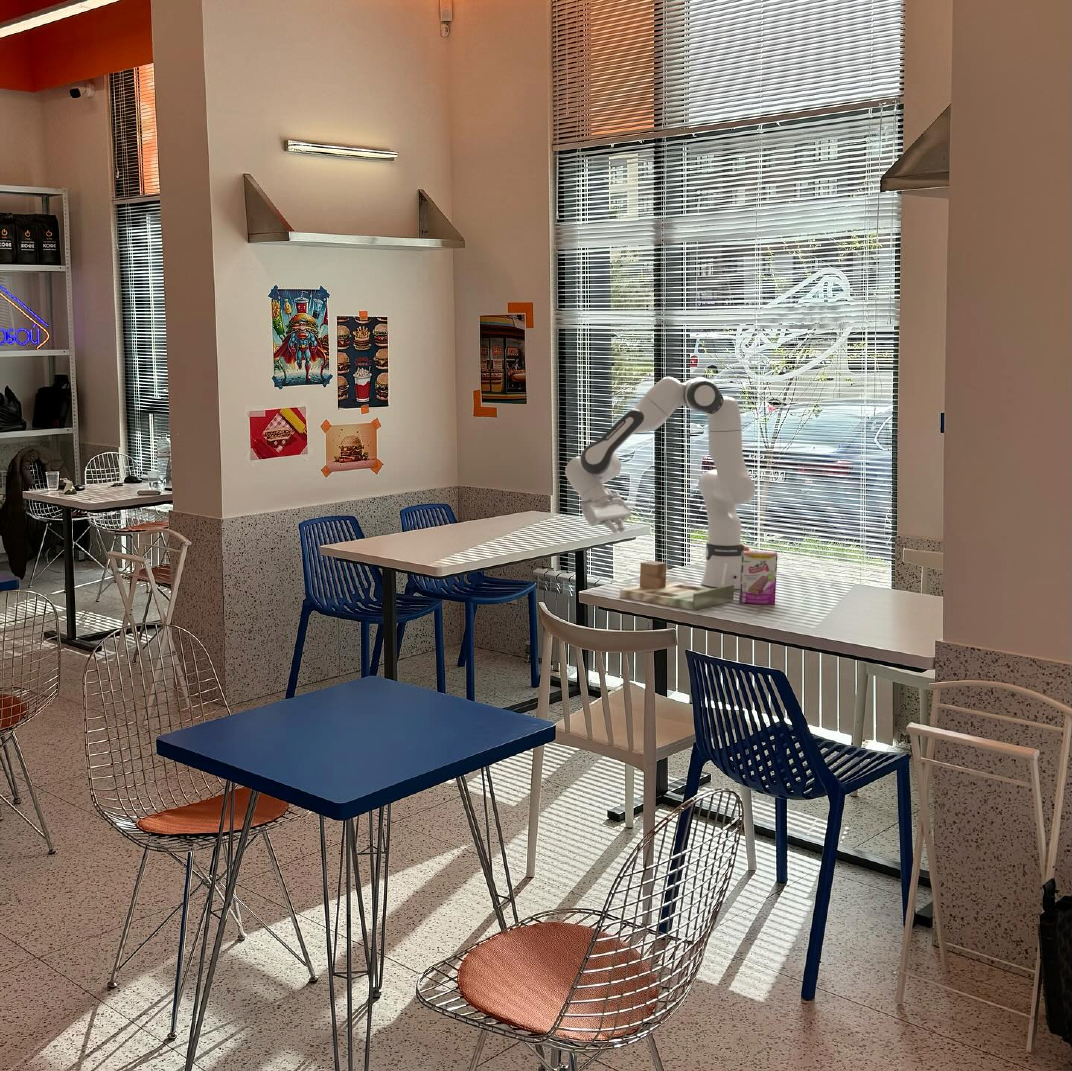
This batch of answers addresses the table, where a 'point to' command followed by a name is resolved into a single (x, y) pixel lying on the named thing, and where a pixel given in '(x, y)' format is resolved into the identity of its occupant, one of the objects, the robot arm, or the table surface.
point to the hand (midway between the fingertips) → (619, 531)
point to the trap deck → (681, 595)
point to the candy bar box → (758, 577)
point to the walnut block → (653, 575)
